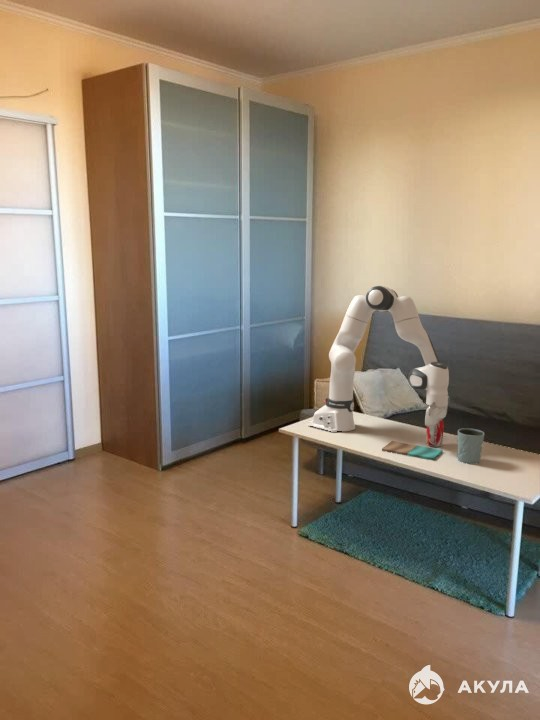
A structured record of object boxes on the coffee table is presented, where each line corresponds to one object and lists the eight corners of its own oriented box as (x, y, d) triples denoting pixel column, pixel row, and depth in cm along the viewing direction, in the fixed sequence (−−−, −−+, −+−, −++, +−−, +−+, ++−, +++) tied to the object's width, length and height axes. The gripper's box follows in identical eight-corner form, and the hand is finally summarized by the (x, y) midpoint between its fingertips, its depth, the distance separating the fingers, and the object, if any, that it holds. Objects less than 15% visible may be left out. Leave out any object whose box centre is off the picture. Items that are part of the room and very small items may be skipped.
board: (381, 450, 256) (382, 448, 255) (392, 443, 266) (392, 440, 266) (433, 460, 244) (433, 458, 244) (442, 452, 255) (442, 449, 254)
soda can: (423, 446, 262) (425, 419, 259) (427, 441, 268) (429, 415, 266) (440, 448, 259) (442, 421, 256) (444, 444, 265) (445, 417, 262)
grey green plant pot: (450, 457, 248) (452, 429, 246) (471, 454, 251) (473, 426, 249) (467, 466, 239) (469, 436, 236) (487, 462, 242) (490, 434, 240)
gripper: (437, 406, 249) (435, 439, 252) (450, 396, 266) (448, 426, 269) (422, 404, 252) (420, 436, 255) (436, 394, 270) (434, 424, 272)
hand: (435, 431), depth 262 cm, fingers closed on soda can, 7 cm apart
